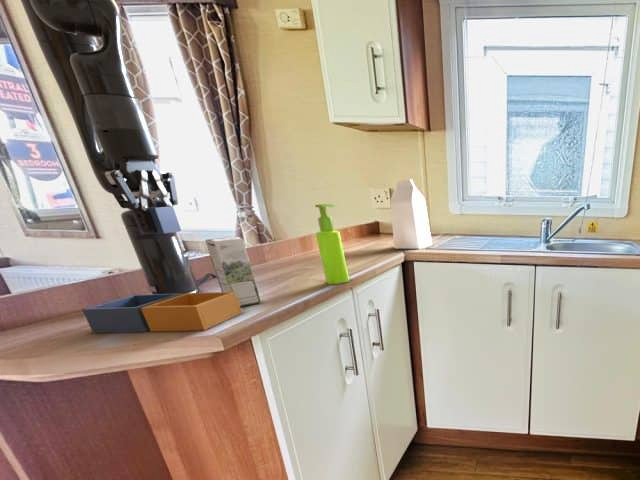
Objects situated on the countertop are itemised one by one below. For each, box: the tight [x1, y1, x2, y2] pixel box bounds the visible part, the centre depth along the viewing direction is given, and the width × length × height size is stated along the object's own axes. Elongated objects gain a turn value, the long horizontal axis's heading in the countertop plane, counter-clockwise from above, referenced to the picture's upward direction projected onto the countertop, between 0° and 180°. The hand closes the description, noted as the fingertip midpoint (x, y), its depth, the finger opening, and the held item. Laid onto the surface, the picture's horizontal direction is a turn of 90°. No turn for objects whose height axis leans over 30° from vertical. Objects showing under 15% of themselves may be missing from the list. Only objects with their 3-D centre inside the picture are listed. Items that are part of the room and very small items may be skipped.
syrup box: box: [204, 236, 262, 308], centre depth 94 cm, size 6×6×14 cm
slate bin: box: [81, 293, 183, 334], centre depth 84 cm, size 12×11×5 cm
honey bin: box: [141, 291, 243, 332], centre depth 84 cm, size 12×11×5 cm
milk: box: [389, 179, 433, 250], centre depth 177 cm, size 12×12×26 cm
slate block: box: [132, 206, 182, 234], centre depth 80 cm, size 4×4×4 cm
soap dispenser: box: [314, 203, 350, 285], centre depth 113 cm, size 6×7×20 cm
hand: (160, 230), depth 81 cm, fingers closed on slate block, 4 cm apart
